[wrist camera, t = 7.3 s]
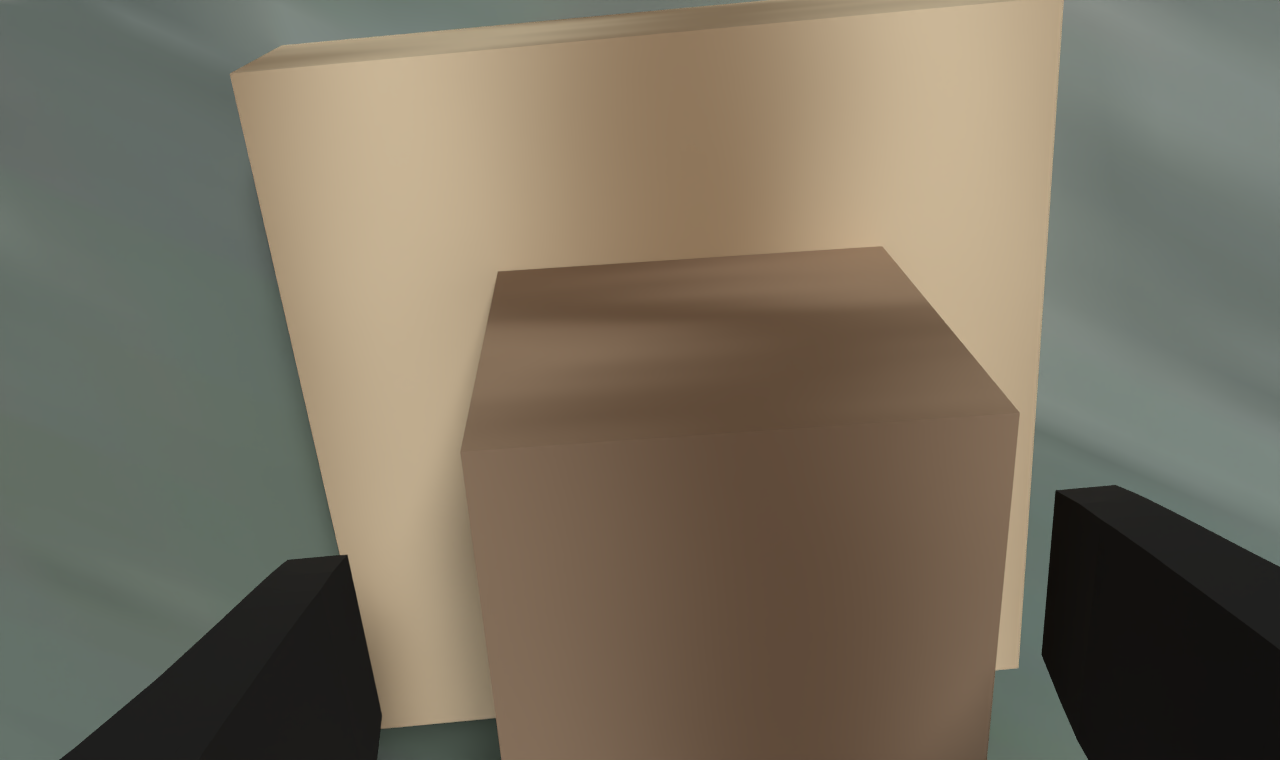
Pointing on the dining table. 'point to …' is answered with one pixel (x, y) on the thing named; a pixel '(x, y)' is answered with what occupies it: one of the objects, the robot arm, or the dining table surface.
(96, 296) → the dining table surface
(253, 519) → the dining table surface
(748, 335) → the walnut cube
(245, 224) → the dining table surface
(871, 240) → the oak block
